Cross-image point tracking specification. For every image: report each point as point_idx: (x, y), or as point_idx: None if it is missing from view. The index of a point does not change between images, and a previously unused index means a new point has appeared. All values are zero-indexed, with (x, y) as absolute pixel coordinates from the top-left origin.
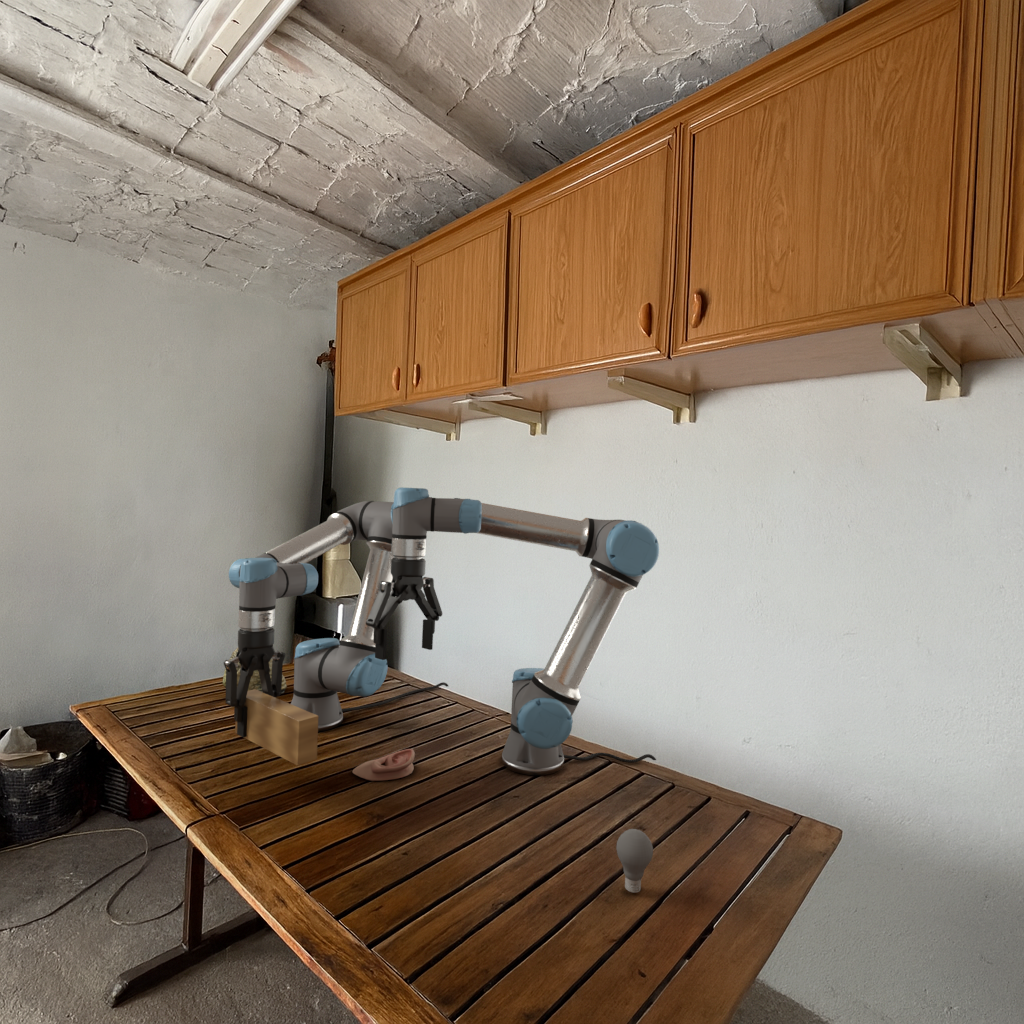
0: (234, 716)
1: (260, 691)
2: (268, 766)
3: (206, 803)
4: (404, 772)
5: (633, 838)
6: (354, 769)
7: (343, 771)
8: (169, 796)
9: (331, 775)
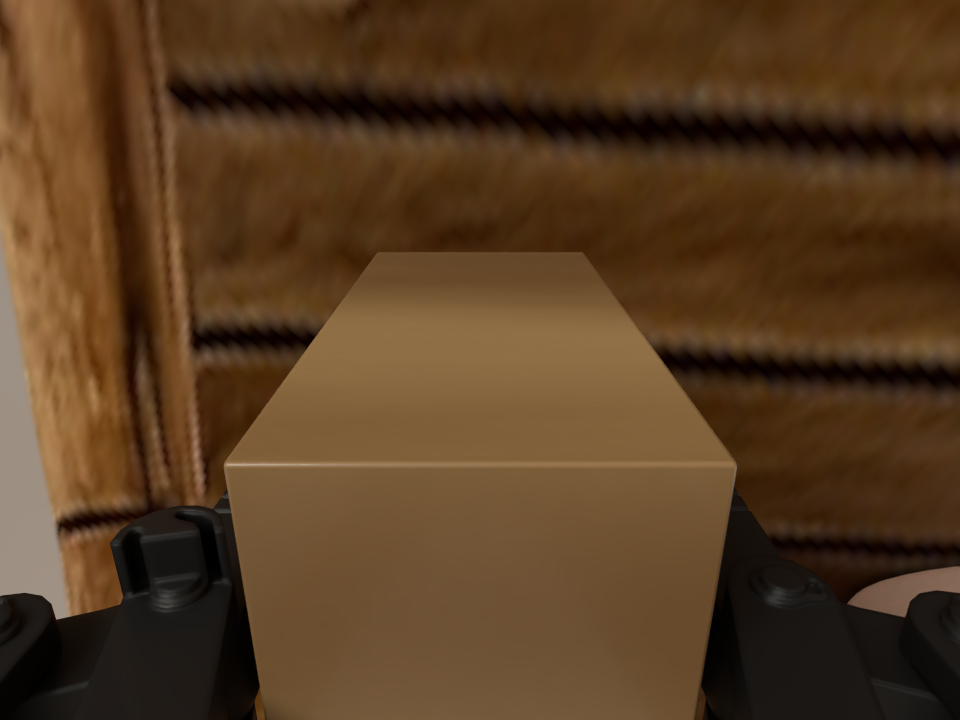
0: (223, 503)
1: (699, 670)
2: (640, 216)
3: (179, 399)
4: None
5: None
6: (869, 606)
7: (844, 546)
8: (36, 189)
9: (774, 542)
